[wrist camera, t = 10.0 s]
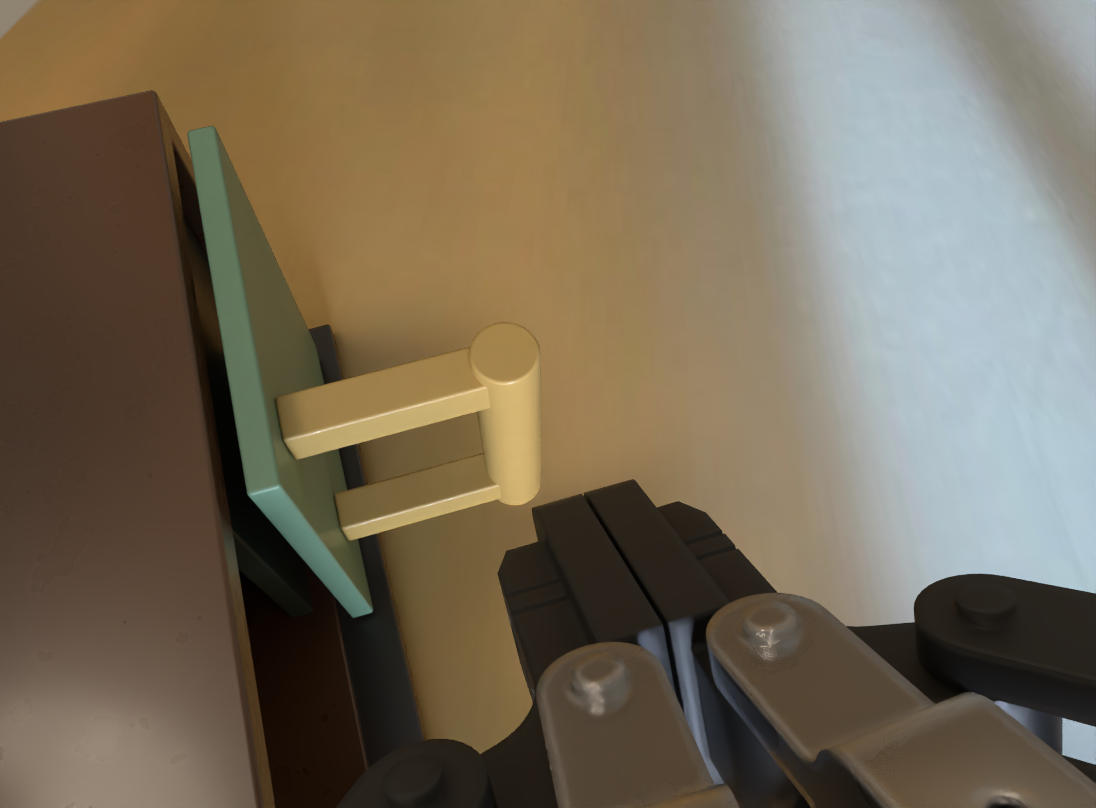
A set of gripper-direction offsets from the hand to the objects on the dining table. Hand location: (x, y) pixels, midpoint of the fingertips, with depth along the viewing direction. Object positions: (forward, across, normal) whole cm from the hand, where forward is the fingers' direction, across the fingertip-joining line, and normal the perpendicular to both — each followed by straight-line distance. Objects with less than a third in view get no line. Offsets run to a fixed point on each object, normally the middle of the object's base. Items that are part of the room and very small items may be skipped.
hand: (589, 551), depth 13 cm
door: (+14, +2, +3) cm, 14 cm away
